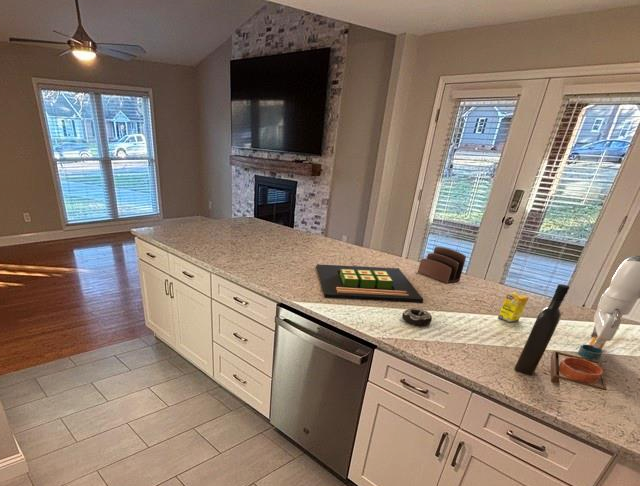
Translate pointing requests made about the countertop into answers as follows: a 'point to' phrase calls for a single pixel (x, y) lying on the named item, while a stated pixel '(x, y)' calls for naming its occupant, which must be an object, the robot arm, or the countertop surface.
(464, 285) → the countertop surface
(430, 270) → the letter holder
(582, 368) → the big bowl
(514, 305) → the supplement box
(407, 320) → the donut
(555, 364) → the tray
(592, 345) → the supplement box
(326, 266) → the sushi set
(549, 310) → the wine bottle
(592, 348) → the small bowl
